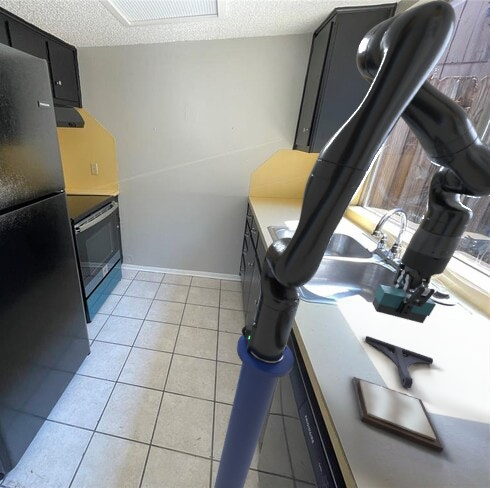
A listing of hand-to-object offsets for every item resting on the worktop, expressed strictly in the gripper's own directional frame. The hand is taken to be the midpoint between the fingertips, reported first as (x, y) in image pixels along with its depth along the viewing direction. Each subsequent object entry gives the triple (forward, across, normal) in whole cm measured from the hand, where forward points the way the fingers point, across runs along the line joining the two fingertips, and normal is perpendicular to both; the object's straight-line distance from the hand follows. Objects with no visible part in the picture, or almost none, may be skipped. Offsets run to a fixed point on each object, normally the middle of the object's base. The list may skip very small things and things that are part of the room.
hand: (398, 308), depth 66 cm
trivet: (+15, +20, -2) cm, 25 cm away
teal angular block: (+1, 0, 0) cm, 1 cm away
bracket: (+15, +4, +4) cm, 16 cm away
